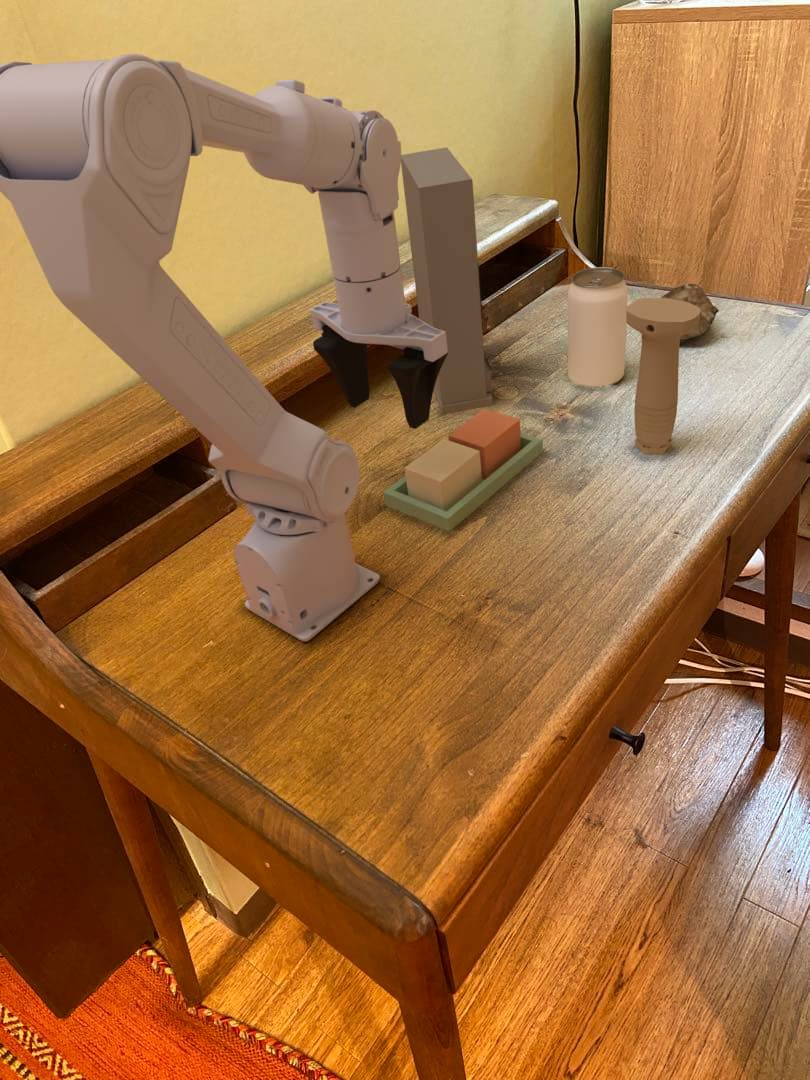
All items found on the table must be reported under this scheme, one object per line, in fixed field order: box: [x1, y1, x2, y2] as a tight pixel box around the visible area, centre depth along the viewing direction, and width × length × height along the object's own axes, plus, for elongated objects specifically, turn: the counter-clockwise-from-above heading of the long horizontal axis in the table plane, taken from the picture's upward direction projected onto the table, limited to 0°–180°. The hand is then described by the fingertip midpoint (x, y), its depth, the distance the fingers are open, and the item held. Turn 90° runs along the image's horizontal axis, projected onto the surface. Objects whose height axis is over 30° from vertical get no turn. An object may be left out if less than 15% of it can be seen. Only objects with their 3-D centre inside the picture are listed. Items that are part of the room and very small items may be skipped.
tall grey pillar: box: [400, 147, 494, 415], centre depth 91 cm, size 14×6×25 cm, turn 8°
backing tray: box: [382, 431, 544, 532], centre depth 82 cm, size 16×8×2 cm, turn 139°
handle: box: [626, 297, 701, 456], centre depth 78 cm, size 5×6×15 cm
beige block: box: [404, 438, 482, 511], centre depth 80 cm, size 6×4×4 cm
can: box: [567, 266, 629, 387], centre depth 93 cm, size 6×6×12 cm
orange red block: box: [448, 408, 521, 480], centre depth 83 cm, size 6×4×4 cm
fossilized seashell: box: [660, 283, 720, 343], centre depth 101 cm, size 8×7×10 cm
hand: (388, 412), depth 77 cm, fingers open, 7 cm apart
